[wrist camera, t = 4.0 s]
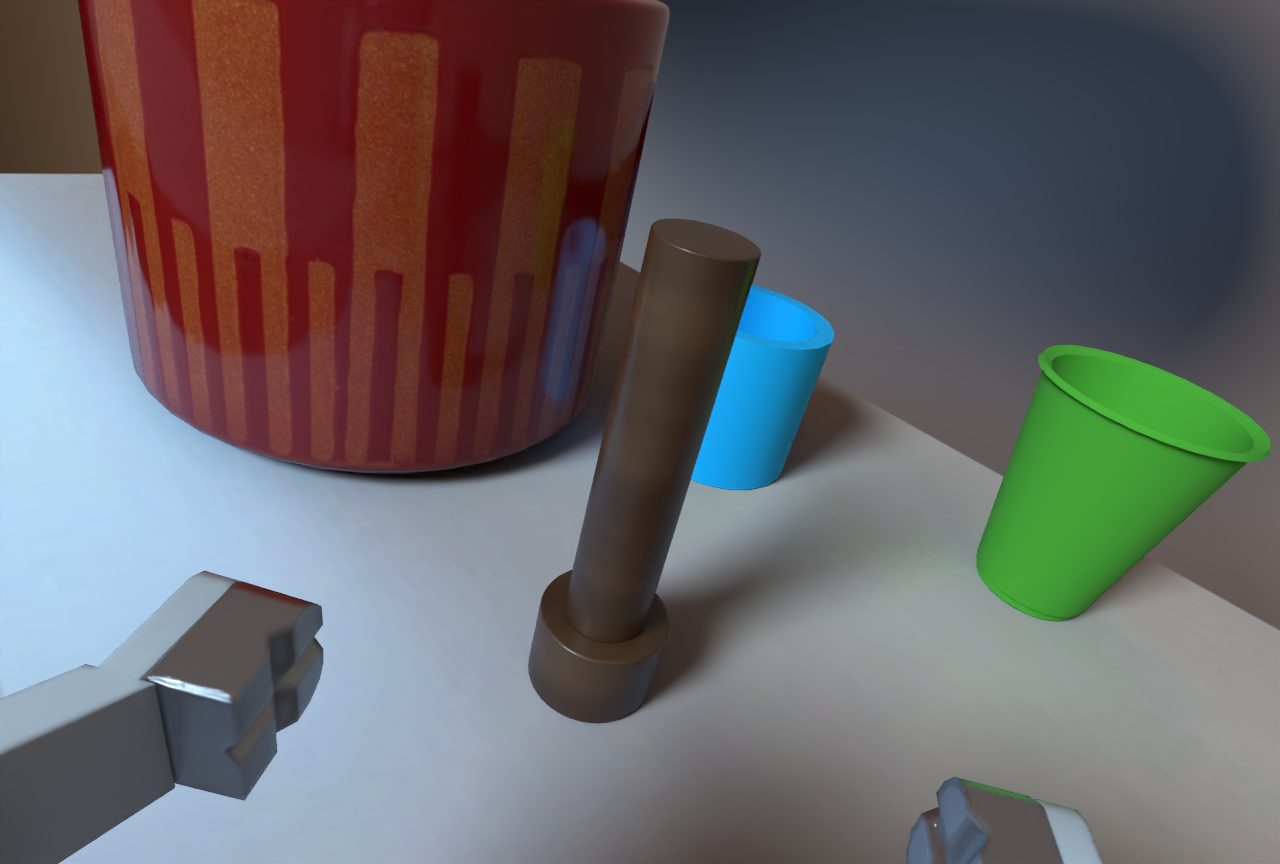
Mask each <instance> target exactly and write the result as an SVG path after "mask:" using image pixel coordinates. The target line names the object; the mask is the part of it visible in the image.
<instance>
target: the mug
mask: <svg viewBox="0 0 1280 864" xmlns="http://www.w3.org/2000/svg"><path fill="white" fill-rule="evenodd" d="M834 335H835V334H834V331H833V329H832V327H831V325H830V323H829V322H828V321H827V320H825V319H824V318H823V317H822V316H821V315H820V314H819V313H818V312H816V311H814V310H813V309H811V308H810V307H808V306H806V305H805V304H803V303H801V302H799V301H797V300H794V299H792V298H790V297H788V296H786V295H784V294H781V293H778V292H775V291H772V290H769V289H766V288H763V287H760V286H755V285H752V286H751V289H750V292H749V295H748V298H747V302H746V305H745V308H744V311H743V314H742V318H741V321H740V324H739V327H738V330H737V334H736V337H735V340H734V343H733V346H732V350H731V353H730V356H729V359H728V362H727V366H726V369H725V372H724V375H723V378H722V382H721V385H720V388H719V391H718V394H717V397H716V401H715V404H714V407H713V410H712V413H711V417H710V420H709V423H708V426H707V429H706V433H705V436H704V439H703V442H702V445H701V449H700V452H699V455H698V458H697V461H696V465H695V468H694V471H693V474H692V477H691V479H692V480H694V481H697V482H699V483H702V484H705V485H710V486H715V487H719V488H724V489H743V490H750V489H755V488H759V487H763V486H767V485H769V484H770V483H772V482H773V481H775V480H776V479H777V478H779V476H780V474H781V472H782V469H783V467H784V464H785V462H786V459H787V456H788V454H789V451H790V449H791V446H792V444H793V441H794V438H795V436H796V433H797V431H798V428H799V426H800V423H801V420H802V418H803V415H804V413H805V410H806V408H807V405H808V402H809V400H810V397H811V395H812V392H813V390H814V387H815V384H816V382H817V379H818V377H819V374H820V372H821V369H822V366H823V364H824V361H825V358H826V356H827V353H828V351H829V348H830V346H831V343H832V341H833V338H834Z"/></svg>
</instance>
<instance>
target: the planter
mask: <svg viewBox="0 0 1280 864" xmlns="http://www.w3.org/2000/svg"><path fill="white" fill-rule="evenodd" d="M77 2H78V9H79V16H80V23H81V30H82V37H83V44H84V50H85V57H86V64H87V71H88V77H89V85H90V91H91V98H92V104H93V111H94V118H95V125H96V131H97V138H98V144H99V151H100V157H101V164H102V171H103V177H104V184H105V191H106V197H107V204H108V210H109V217H110V223H111V230H112V236H113V243H114V249H115V256H116V262H117V269H118V275H119V282H120V288H121V294H122V301H123V307H124V313H125V320H126V326H127V332H128V338H129V344H130V350H131V355H132V359H133V363H134V368H135V371H136V373H137V375H138V376H139V378H140V379H141V381H142V382H143V384H144V386H145V387H146V389H147V390H148V392H149V393H150V394H151V395H152V396H153V397H154V398H155V399H156V400H157V401H158V402H160V403H161V404H162V405H163V406H164V407H165V408H166V409H167V410H168V411H169V412H170V413H171V414H173V415H175V416H176V417H178V418H180V419H181V420H183V421H184V422H186V423H188V424H189V425H191V426H193V427H194V428H196V429H197V430H199V431H201V432H202V433H204V434H207V435H209V436H211V437H214V438H216V439H218V440H220V441H223V442H225V443H227V444H230V445H232V446H234V447H237V448H239V449H243V450H246V451H249V452H253V453H256V454H259V455H263V456H266V457H269V458H273V459H276V460H279V461H284V462H289V463H294V464H299V465H304V466H309V467H315V468H320V469H327V470H337V471H347V472H357V473H392V474H407V473H420V472H432V471H445V470H450V469H456V468H461V467H467V466H472V465H478V464H483V463H486V462H490V461H493V460H496V459H500V458H503V457H506V456H510V455H513V454H517V453H519V452H521V451H523V450H525V449H528V448H530V447H532V446H534V445H537V444H539V443H541V442H543V441H545V440H547V439H548V438H550V437H551V436H553V435H554V434H556V433H557V432H559V431H560V430H562V429H563V428H565V427H566V426H567V425H568V424H569V423H570V422H571V421H572V420H573V419H574V418H575V417H576V416H577V415H578V414H579V413H580V412H581V411H582V409H583V407H584V405H585V404H586V402H587V400H588V398H589V396H590V394H591V392H592V387H593V383H594V378H595V374H596V369H597V364H598V360H599V355H600V350H601V346H602V341H603V336H604V332H605V327H606V322H607V317H608V313H609V308H610V303H611V299H612V294H613V289H614V284H615V280H616V275H617V270H618V265H619V261H620V256H621V251H622V246H623V241H624V237H625V232H626V227H627V222H628V217H629V213H630V208H631V203H632V198H633V193H634V189H635V184H636V179H637V174H638V169H639V164H640V160H641V155H642V150H643V145H644V140H645V135H646V130H647V125H648V120H649V115H650V111H651V106H652V100H653V96H654V91H655V86H656V81H657V76H658V71H659V66H660V61H661V55H662V51H663V46H664V41H665V36H666V32H667V27H668V22H669V15H670V14H669V8H668V7H667V5H665V4H664V3H662V2H660V1H657V0H77Z"/></svg>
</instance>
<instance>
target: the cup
mask: <svg viewBox="0 0 1280 864" xmlns="http://www.w3.org/2000/svg"><path fill="white" fill-rule="evenodd" d="M1038 357H1039V365H1040V366H1041V368H1042V372H1041V374H1040V377H1039V380H1038V383H1037V386H1036V388H1035V391H1034V394H1033V397H1032V399H1031V402H1030V405H1029V408H1028V411H1027V414H1026V416H1025V419H1024V422H1023V425H1022V428H1021V430H1020V433H1019V436H1018V438H1017V442H1016V444H1015V447H1014V450H1013V452H1012V455H1011V458H1010V461H1009V464H1008V466H1007V469H1006V472H1005V475H1004V478H1003V480H1002V483H1001V486H1000V489H999V491H998V494H997V497H996V500H995V503H994V505H993V508H992V511H991V514H990V517H989V519H988V522H987V525H986V528H985V531H984V533H983V536H982V539H981V542H980V544H979V547H978V550H977V569H978V572H979V575H980V576H981V578H982V580H983V581H984V583H985V584H986V585H987V586H988V587H989V588H990V589H991V590H992V591H993V592H994V593H995V594H996V595H997V596H999V597H1000V598H1001V599H1002V600H1004V601H1005V602H1007V603H1008V604H1010V605H1011V606H1013V607H1014V608H1016V609H1018V610H1020V611H1022V612H1024V613H1026V614H1029V615H1031V616H1034V617H1037V618H1040V619H1045V620H1049V621H1063V620H1068V619H1070V618H1071V617H1073V616H1078V615H1079V614H1081V613H1082V612H1083V611H1084V610H1085V609H1087V608H1088V607H1089V606H1090V605H1091V604H1092V603H1093V602H1094V601H1095V600H1097V599H1098V598H1099V597H1100V596H1101V595H1102V594H1103V593H1104V592H1105V591H1106V590H1108V589H1109V588H1110V587H1111V586H1112V585H1113V584H1114V583H1115V582H1116V581H1117V580H1119V579H1120V578H1121V577H1122V576H1123V575H1124V574H1125V573H1126V572H1127V571H1128V570H1130V569H1131V568H1132V567H1133V566H1134V565H1135V564H1136V563H1137V562H1138V561H1140V560H1141V559H1142V558H1143V557H1144V556H1145V555H1146V554H1147V553H1148V552H1149V551H1151V550H1152V549H1153V548H1154V547H1155V546H1156V545H1157V544H1158V543H1159V542H1160V541H1161V540H1163V539H1164V538H1165V537H1166V536H1167V535H1168V534H1169V533H1170V532H1171V531H1173V530H1174V529H1175V528H1176V527H1177V526H1178V525H1179V524H1180V523H1181V522H1183V521H1184V520H1185V519H1186V518H1187V517H1188V516H1189V515H1190V514H1191V513H1192V512H1194V511H1195V510H1196V509H1197V508H1198V507H1199V506H1200V505H1201V504H1202V503H1203V502H1205V500H1207V499H1208V498H1209V497H1210V496H1211V495H1212V494H1213V493H1214V492H1216V491H1217V490H1218V489H1219V488H1220V487H1221V486H1222V485H1223V484H1224V483H1225V482H1227V481H1228V480H1229V479H1230V478H1231V477H1232V476H1233V475H1234V474H1235V473H1237V472H1238V471H1239V470H1240V469H1241V468H1242V467H1243V466H1244V465H1245V464H1246V463H1247V462H1252V461H1262V460H1264V459H1265V458H1266V457H1268V456H1269V455H1270V448H1271V446H1270V439H1269V437H1268V436H1267V434H1266V433H1265V431H1264V430H1263V429H1262V428H1261V427H1260V426H1259V425H1258V424H1257V423H1255V422H1254V421H1253V420H1252V419H1251V418H1250V417H1248V416H1247V415H1246V414H1244V413H1243V412H1241V411H1240V410H1238V409H1237V408H1236V407H1234V406H1233V405H1231V404H1229V403H1228V402H1226V401H1224V400H1223V399H1221V398H1219V397H1217V396H1216V395H1214V394H1212V393H1210V392H1209V391H1207V390H1205V389H1203V388H1200V387H1199V386H1197V385H1195V384H1193V383H1191V382H1189V381H1187V380H1184V379H1182V378H1179V377H1178V376H1175V375H1173V374H1170V373H1168V372H1166V371H1164V370H1161V369H1158V368H1156V367H1153V366H1151V365H1148V364H1145V363H1142V362H1140V361H1137V360H1134V359H1131V358H1127V357H1124V356H1121V355H1118V354H1115V353H1111V352H1106V351H1102V350H1098V349H1094V348H1089V347H1082V346H1076V345H1057V346H1053V347H1049V348H1048V349H1046V350H1045V351H1043V352H1042V354H1040V355H1039V356H1038Z"/></svg>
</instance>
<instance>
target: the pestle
mask: <svg viewBox="0 0 1280 864" xmlns="http://www.w3.org/2000/svg"><path fill="white" fill-rule="evenodd" d="M760 257H761V252H760V249H759V248H758V247H757V246H756V245H755V244H754V243H753V242H751V241H750V240H748V239H747V238H745V237H743V236H741V235H739V234H737V233H735V232H732V231H730V230H727V229H724V228H721V227H718V226H715V225H711V224H707V223H703V222H698V221H693V220H686V219H663V220H658V221H656V222H654V223H653V224H652V226H651V229H650V233H649V238H648V242H647V247H646V251H645V255H644V260H643V264H642V269H641V273H640V277H639V282H638V286H637V290H636V295H635V299H634V303H633V308H632V312H631V316H630V321H629V325H628V330H627V334H626V338H625V343H624V347H623V351H622V356H621V360H620V365H619V369H618V373H617V378H616V382H615V386H614V391H613V395H612V400H611V404H610V408H609V413H608V417H607V421H606V426H605V430H604V435H603V439H602V443H601V448H600V452H599V456H598V461H597V465H596V469H595V474H594V478H593V483H592V487H591V491H590V496H589V500H588V504H587V509H586V513H585V518H584V522H583V526H582V531H581V535H580V539H579V544H578V548H577V553H576V557H575V561H574V566H573V570H571V571H568V572H566V573H564V574H562V575H560V576H558V577H557V578H556V579H555V580H553V581H552V582H551V583H550V585H549V586H548V587H547V588H546V590H545V591H544V594H543V596H542V599H541V603H540V608H539V613H538V617H537V622H536V627H535V632H534V637H533V642H532V647H531V652H530V656H529V664H528V668H529V675H530V679H531V682H532V684H533V687H534V688H535V690H536V692H537V694H538V695H539V696H540V697H541V699H542V700H543V701H544V702H545V703H546V704H547V705H548V706H550V707H551V708H552V709H554V710H555V711H557V712H558V713H560V714H562V715H564V716H566V717H568V718H571V719H574V720H577V721H582V722H589V723H604V722H611V721H614V720H618V719H620V718H623V717H625V716H627V715H628V714H630V713H632V712H633V711H634V710H635V709H637V708H638V707H639V706H640V704H641V703H642V702H643V701H644V699H645V697H646V695H647V693H648V691H649V688H650V685H651V682H652V679H653V676H654V673H655V670H656V667H657V664H658V661H659V658H660V655H661V652H662V649H663V646H664V643H665V640H666V637H667V634H668V629H669V621H668V615H667V612H666V609H665V606H664V604H663V602H662V601H661V599H660V598H659V596H658V595H657V594H656V593H655V592H656V589H657V586H658V583H659V579H660V576H661V573H662V570H663V567H664V563H665V560H666V557H667V554H668V551H669V548H670V544H671V541H672V538H673V535H674V532H675V528H676V525H677V522H678V519H679V516H680V512H681V509H682V506H683V503H684V500H685V496H686V493H687V490H688V487H689V484H690V480H691V477H692V474H693V471H694V468H695V465H696V461H697V458H698V455H699V452H700V449H701V445H702V442H703V439H704V436H705V433H706V429H707V426H708V423H709V420H710V417H711V413H712V410H713V407H714V404H715V401H716V397H717V394H718V391H719V388H720V385H721V382H722V378H723V375H724V372H725V369H726V366H727V362H728V359H729V356H730V353H731V350H732V346H733V343H734V340H735V337H736V334H737V330H738V327H739V324H740V321H741V318H742V314H743V311H744V308H745V305H746V302H747V298H748V295H749V292H750V289H751V286H752V283H753V279H754V276H755V273H756V270H757V266H758V263H759V260H760Z"/></svg>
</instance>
